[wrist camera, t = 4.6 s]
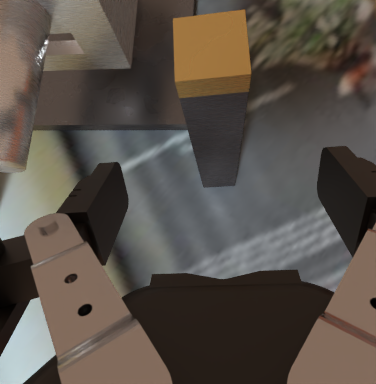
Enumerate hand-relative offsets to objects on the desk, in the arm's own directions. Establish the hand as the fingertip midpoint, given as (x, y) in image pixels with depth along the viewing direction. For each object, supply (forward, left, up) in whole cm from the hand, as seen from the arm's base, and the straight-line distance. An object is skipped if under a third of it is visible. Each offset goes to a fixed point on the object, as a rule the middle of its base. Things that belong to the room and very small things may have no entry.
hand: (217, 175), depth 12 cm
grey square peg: (0, +3, -11) cm, 11 cm away
